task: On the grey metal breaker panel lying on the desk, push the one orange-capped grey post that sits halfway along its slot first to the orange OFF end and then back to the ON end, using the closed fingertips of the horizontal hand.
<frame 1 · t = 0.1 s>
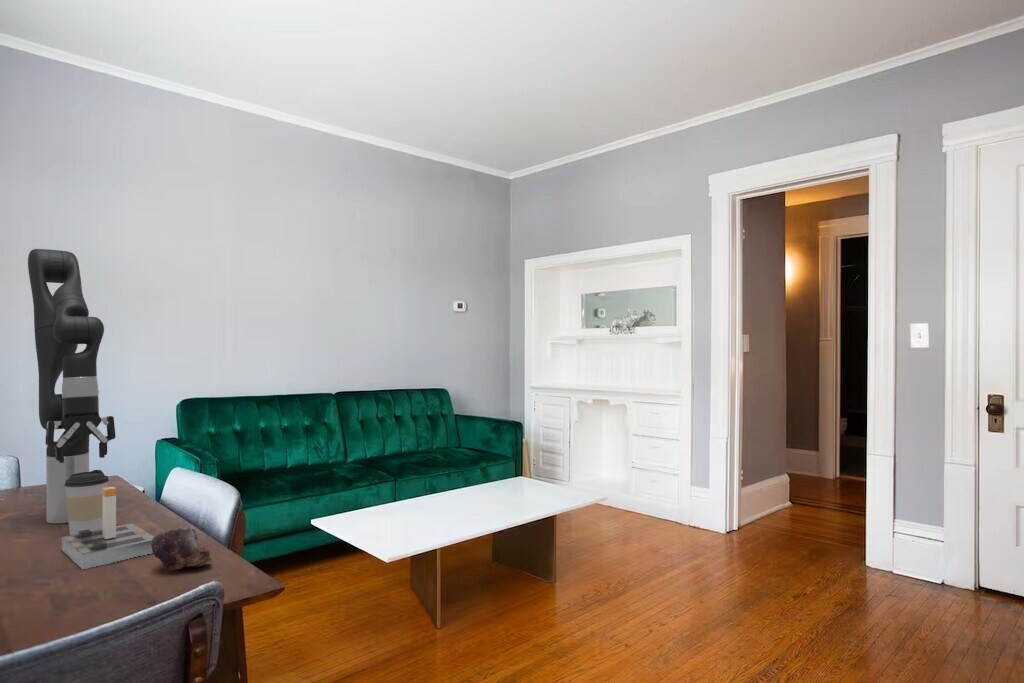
hand: (81, 460, 155), 17 cm above the table, tool pointing down, fingers open, 8 cm apart
orange-capped grey post: (109, 512, 138), point 9 cm above the table, slide at 0.0 cm
rock: (179, 568, 128), on the table
coffee cup: (87, 534, 151), on the table
breaker panel: (109, 551, 138), on the table
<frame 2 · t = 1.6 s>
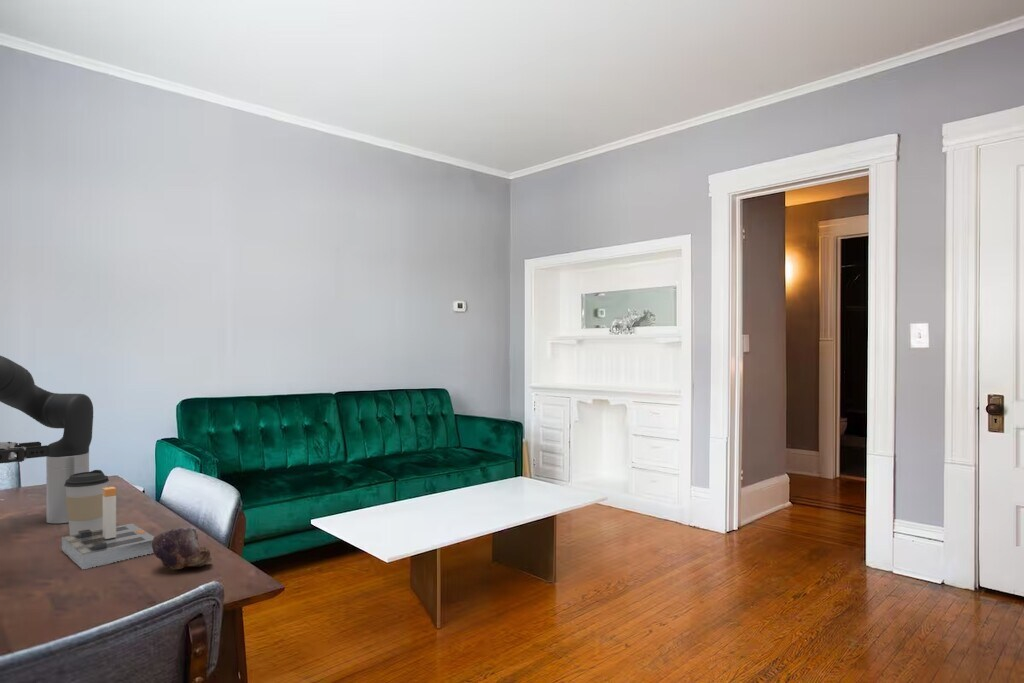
hand: (44, 448, 129), 24 cm above the table, tool horizontal, fingers open, 7 cm apart
nothing on the table moved.
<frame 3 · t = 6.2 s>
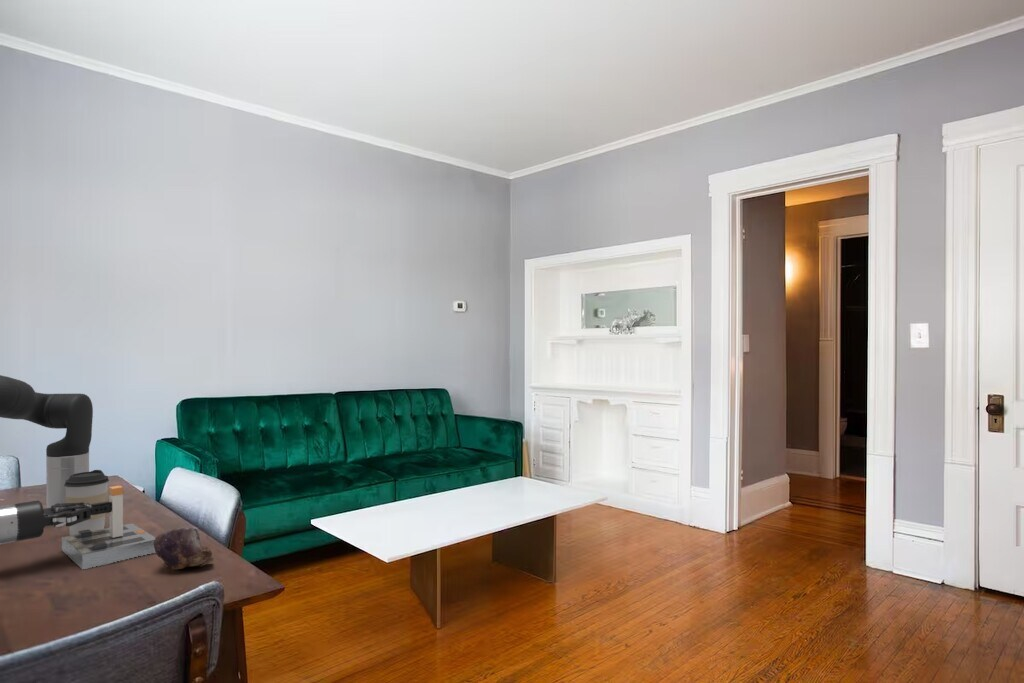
hand: (110, 506, 138), 10 cm above the table, tool horizontal, fingers closed
orange-capped grey post: (116, 511, 139), point 9 cm above the table, slide at 1.3 cm, touching gripper
everything else where it was.
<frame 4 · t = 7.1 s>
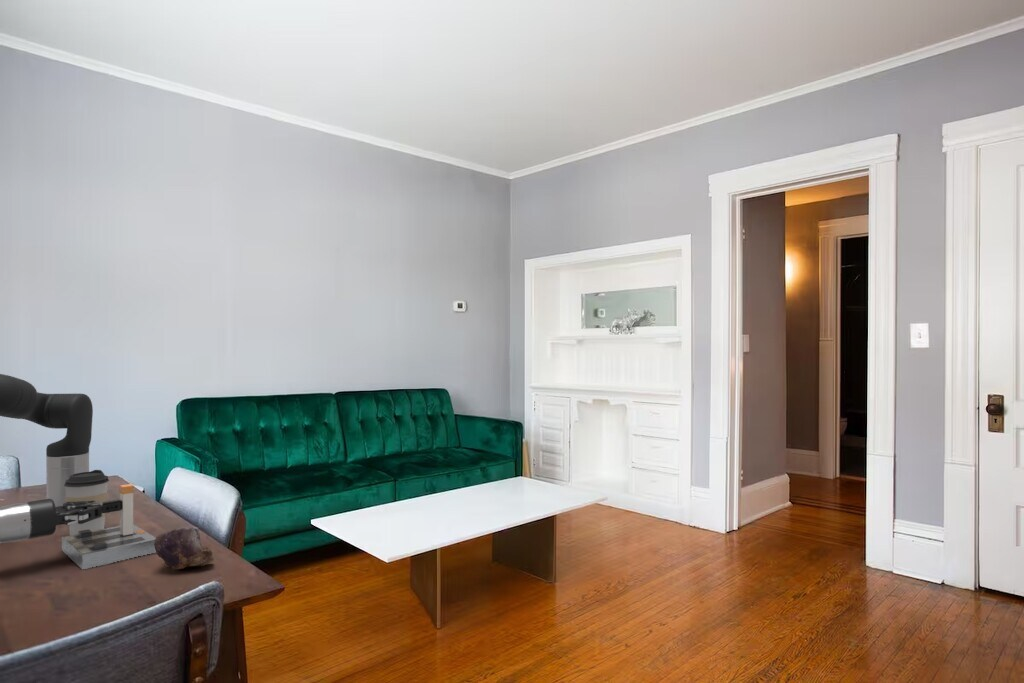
hand: (121, 504, 139), 10 cm above the table, tool horizontal, fingers closed
orange-capped grey post: (126, 509, 140), point 9 cm above the table, slide at 3.4 cm, touching gripper
everything else where it was.
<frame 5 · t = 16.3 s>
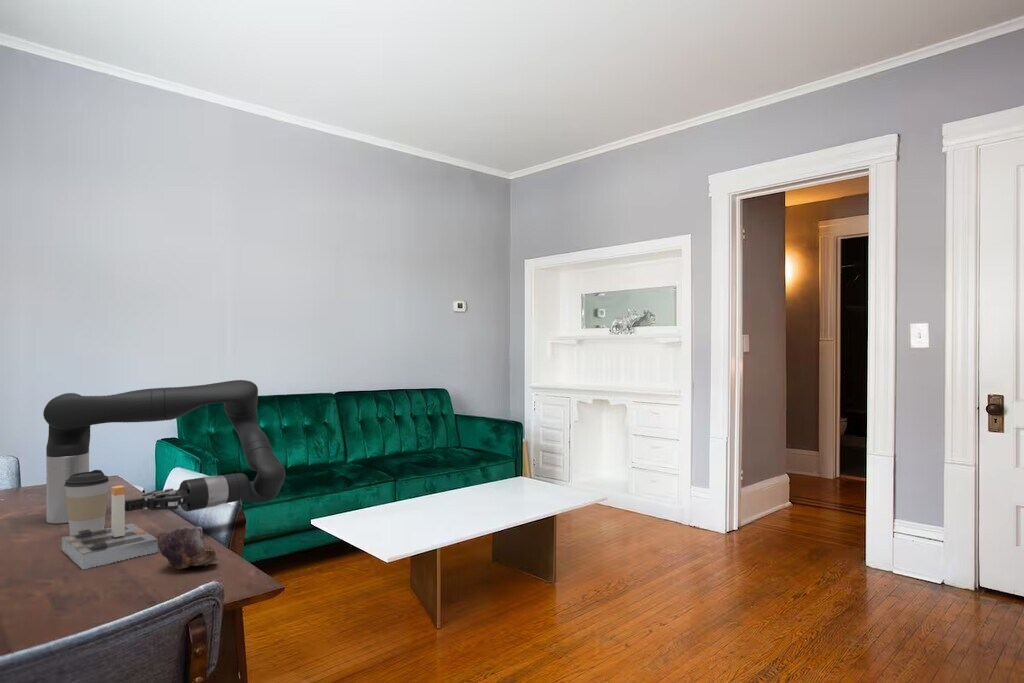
hand: (124, 506, 139), 10 cm above the table, tool horizontal, fingers closed
orange-capped grey post: (118, 511, 139), point 9 cm above the table, slide at 1.7 cm, touching gripper
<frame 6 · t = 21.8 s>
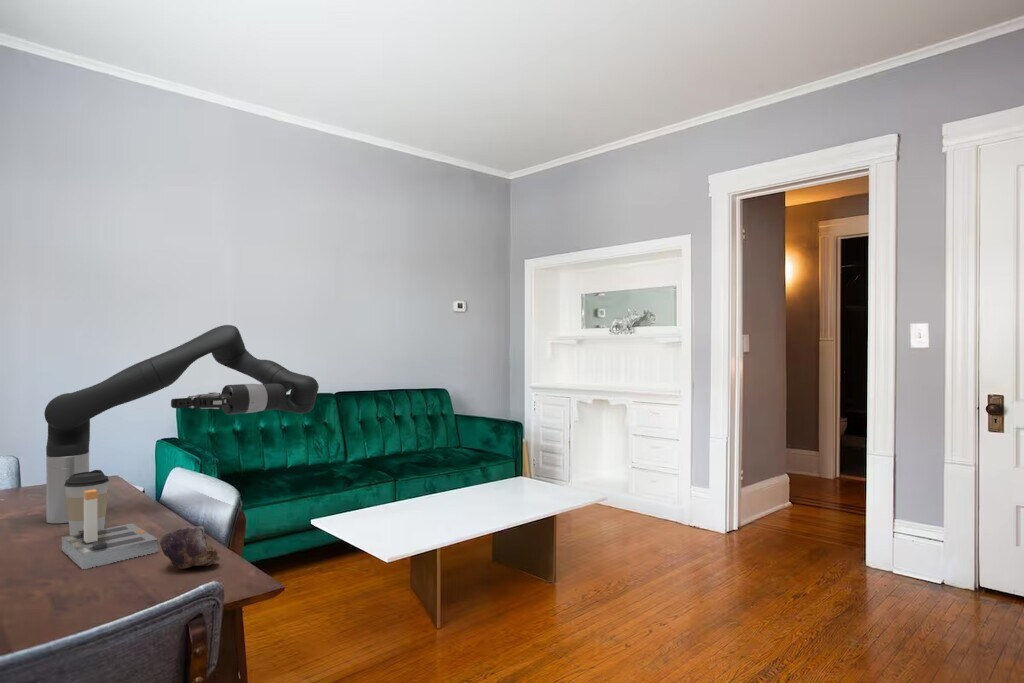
hand: (172, 403, 147), 32 cm above the table, tool horizontal, fingers closed
orange-capped grey post: (90, 515, 135), point 9 cm above the table, slide at -3.6 cm
at the end: orange-capped grey post slide at -3.6 cm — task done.
